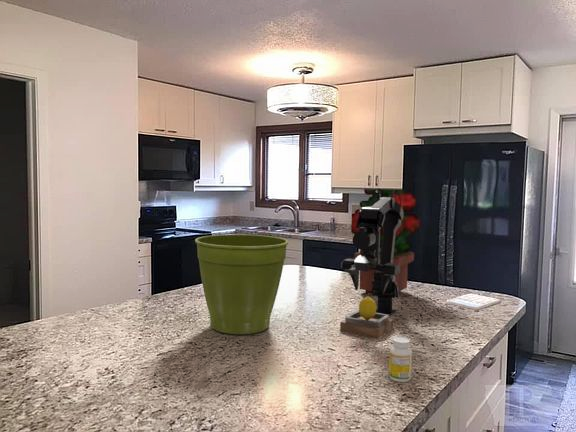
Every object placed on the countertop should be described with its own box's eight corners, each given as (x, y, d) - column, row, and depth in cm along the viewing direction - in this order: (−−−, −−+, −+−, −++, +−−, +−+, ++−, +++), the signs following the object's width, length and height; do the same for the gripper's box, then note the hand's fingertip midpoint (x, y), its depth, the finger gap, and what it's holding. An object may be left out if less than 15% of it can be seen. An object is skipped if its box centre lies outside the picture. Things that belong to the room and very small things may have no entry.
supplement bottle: (404, 384, 115) (406, 345, 114) (384, 378, 118) (386, 340, 118) (414, 377, 119) (416, 339, 118) (395, 371, 122) (396, 334, 122)
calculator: (500, 303, 198) (500, 298, 198) (476, 311, 184) (476, 306, 184) (469, 296, 208) (469, 292, 208) (444, 304, 194) (445, 299, 194)
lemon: (375, 323, 153) (376, 299, 153) (358, 322, 155) (358, 297, 154) (376, 318, 159) (376, 295, 158) (359, 317, 160) (359, 293, 159)
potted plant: (416, 291, 213) (420, 189, 210) (399, 301, 195) (403, 190, 192) (369, 285, 225) (372, 188, 222) (349, 293, 207) (352, 188, 203)
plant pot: (176, 334, 149) (176, 241, 146) (221, 310, 176) (222, 232, 174) (265, 347, 138) (266, 248, 136) (298, 320, 166) (300, 237, 164)
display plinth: (356, 321, 166) (357, 308, 166) (393, 328, 159) (393, 314, 159) (340, 331, 155) (340, 317, 155) (378, 338, 148) (378, 324, 148)
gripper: (334, 245, 157) (333, 293, 158) (389, 251, 147) (387, 301, 148) (348, 241, 166) (347, 286, 167) (401, 246, 156) (399, 294, 158)
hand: (369, 292), depth 160 cm, fingers open, 9 cm apart
